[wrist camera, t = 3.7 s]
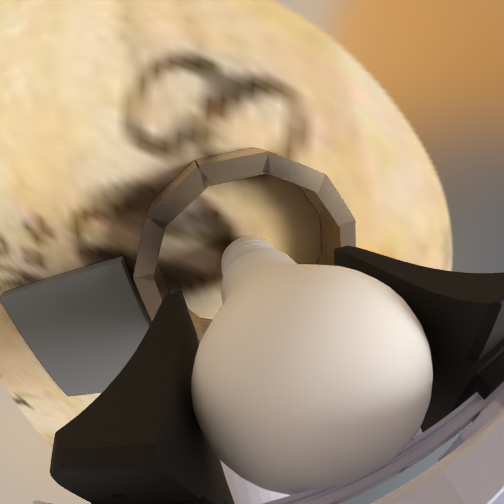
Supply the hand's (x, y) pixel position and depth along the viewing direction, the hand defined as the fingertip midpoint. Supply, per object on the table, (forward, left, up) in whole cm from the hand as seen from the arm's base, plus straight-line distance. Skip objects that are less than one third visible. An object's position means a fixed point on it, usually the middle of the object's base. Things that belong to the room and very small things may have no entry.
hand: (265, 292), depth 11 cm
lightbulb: (0, 0, -4) cm, 4 cm away
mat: (-3, +10, -3) cm, 10 cm away
